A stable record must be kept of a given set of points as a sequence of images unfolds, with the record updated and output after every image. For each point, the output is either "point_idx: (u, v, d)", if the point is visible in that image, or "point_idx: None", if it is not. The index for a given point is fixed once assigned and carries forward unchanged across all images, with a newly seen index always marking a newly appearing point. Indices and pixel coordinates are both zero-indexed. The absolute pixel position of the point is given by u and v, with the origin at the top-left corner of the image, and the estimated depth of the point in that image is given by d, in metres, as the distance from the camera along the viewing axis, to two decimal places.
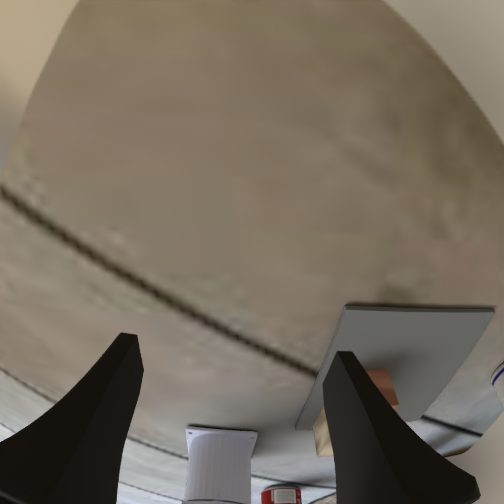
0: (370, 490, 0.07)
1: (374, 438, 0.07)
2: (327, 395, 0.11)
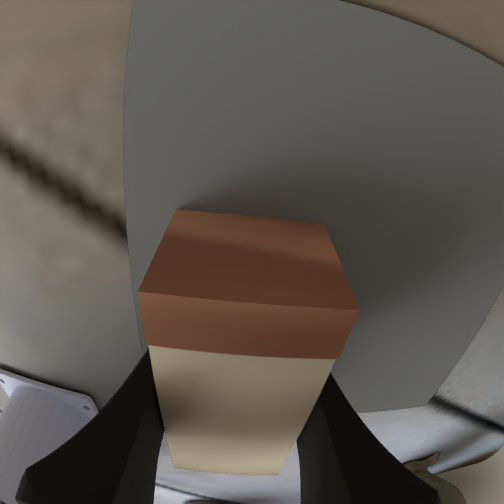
0: (326, 496, 0.06)
1: (330, 442, 0.07)
2: None
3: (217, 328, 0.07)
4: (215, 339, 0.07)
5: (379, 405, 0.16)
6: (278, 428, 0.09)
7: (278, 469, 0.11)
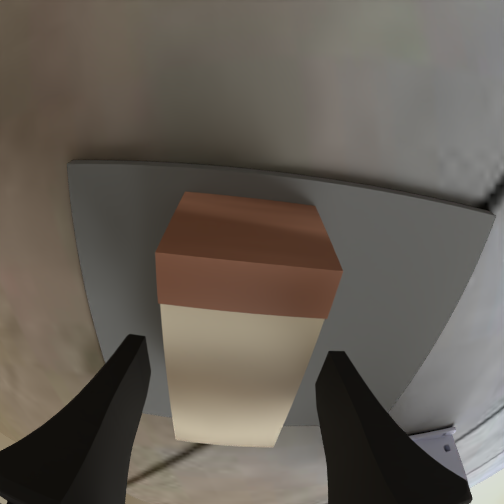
0: (360, 492, 0.06)
1: (364, 439, 0.07)
2: (319, 395, 0.11)
3: (221, 286, 0.08)
4: (219, 297, 0.08)
5: (458, 281, 0.13)
6: (273, 392, 0.11)
7: (274, 440, 0.13)
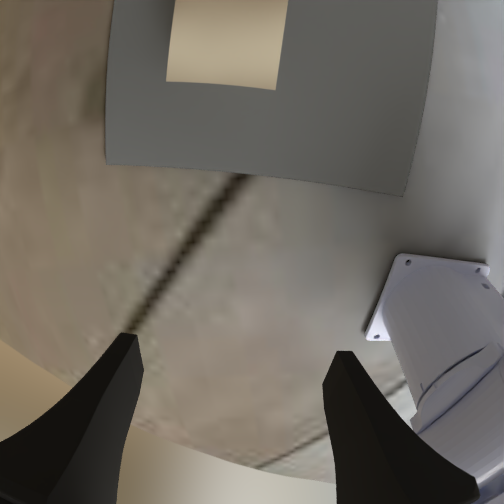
0: (370, 490, 0.07)
1: (374, 438, 0.07)
2: (327, 395, 0.11)
3: None
4: None
5: (426, 4, 0.12)
6: None
7: (276, 71, 0.12)
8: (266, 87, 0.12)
